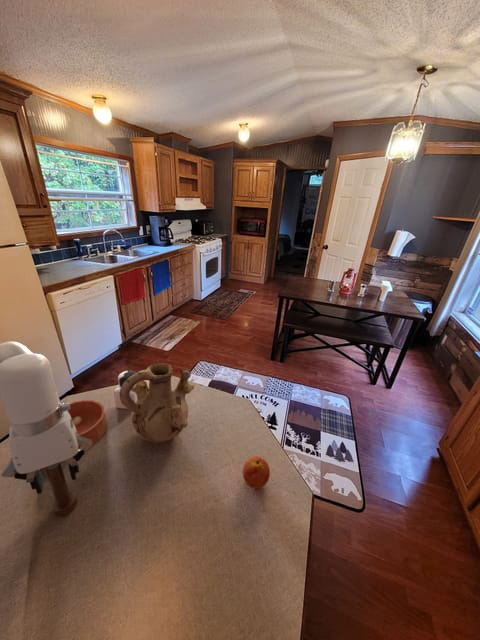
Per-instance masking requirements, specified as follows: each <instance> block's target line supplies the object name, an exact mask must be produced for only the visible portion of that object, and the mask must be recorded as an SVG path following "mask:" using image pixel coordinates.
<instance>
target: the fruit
mask: <svg viewBox="0 0 480 640" xmlns="http://www.w3.org/2000/svg"><path fill="white" fill-rule="evenodd" d="M242 476H243V478H244V482H245V483H246V484H247V485H248V486H249V487H250V488H252V489H260V488H263V487H264V486H266V485H267V483H268V482H269V479H270V476H271V471H270V465H269V464H268V462H267V461H266V459H264V458H263V457H261V456H257V455H256V456H255V455H254V456H251V457H249V458H248V459H247V460H246V461H245V462H244V464H243V467H242Z"/></svg>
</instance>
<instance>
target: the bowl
mask: <svg viewBox="0 0 480 640" xmlns="http://www.w3.org/2000/svg"><path fill="white" fill-rule="evenodd" d="M69 403H70V410H67V411H68V413H69V414H70V416H71V418H72V420H73V419H74V418H75V417H81V418H82V422H81V423H80V424H78V425H75V424H74V425H75V428H76V431H77V435H79V436H82V437H85V438H87V439H90V440H92V446H91V447H93V446H94V445H96V444H97V443H98V442H100V440H101V439H102V438H103V437H104V435H105V434H106V431H107V428H108V423H107V417H106V412H105V406H104V405H103V404H102V403H101V402H99V401H96V400H93V399H92V400H91V399H83V400H76V401H73V402H69ZM79 447H80V446H79V445H78V448H79Z"/></svg>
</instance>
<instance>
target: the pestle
mask: <svg viewBox="0 0 480 640" xmlns="http://www.w3.org/2000/svg"><path fill="white" fill-rule="evenodd" d="M44 469H45V473H46V475H47V478H48V482H49V485H50V488H51V490H52V493H53V496H54V500H53V502H52V505H51V508H52V511H53V514H54V515H55V516H56V517H60V518H61V517H65V516H67V515H69V514H70V513H71V512H73V511H74V509H75V508H76V506H77V504H78V499H77V496H76V493H75V491H72V490H69V489H70V488H69V486H68V483H67V480H66V479H67V478H66V477H65V472H64V469H63V466H62V461H61V462H58V463H55V464H53V465H50V466H47V467H44Z"/></svg>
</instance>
